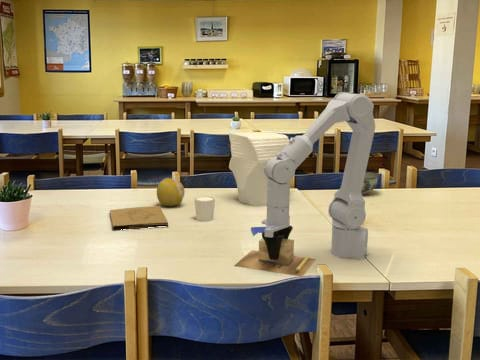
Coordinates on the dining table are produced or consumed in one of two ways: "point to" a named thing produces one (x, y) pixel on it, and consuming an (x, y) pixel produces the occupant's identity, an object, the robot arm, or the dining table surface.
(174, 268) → the dining table surface
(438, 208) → the dining table surface
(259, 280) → the dining table surface
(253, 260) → the board
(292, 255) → the block
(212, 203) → the shot glass
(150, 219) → the box
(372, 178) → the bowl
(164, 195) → the fruit
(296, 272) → the pencil
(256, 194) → the paper stack
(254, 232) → the hard drive
